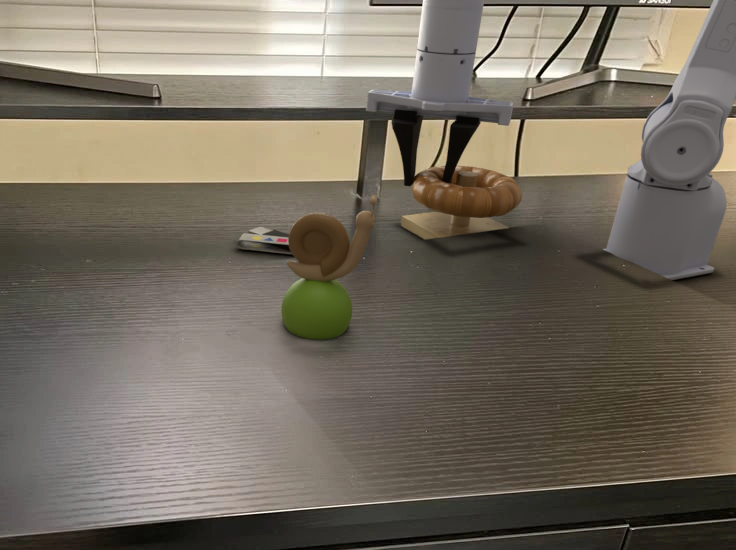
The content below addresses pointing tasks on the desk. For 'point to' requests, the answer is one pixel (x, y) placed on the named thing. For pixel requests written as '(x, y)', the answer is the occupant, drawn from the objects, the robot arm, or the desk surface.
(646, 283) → the desk surface
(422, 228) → the post
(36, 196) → the desk surface
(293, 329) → the snail figurine
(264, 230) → the grey game box
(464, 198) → the ring
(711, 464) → the desk surface
